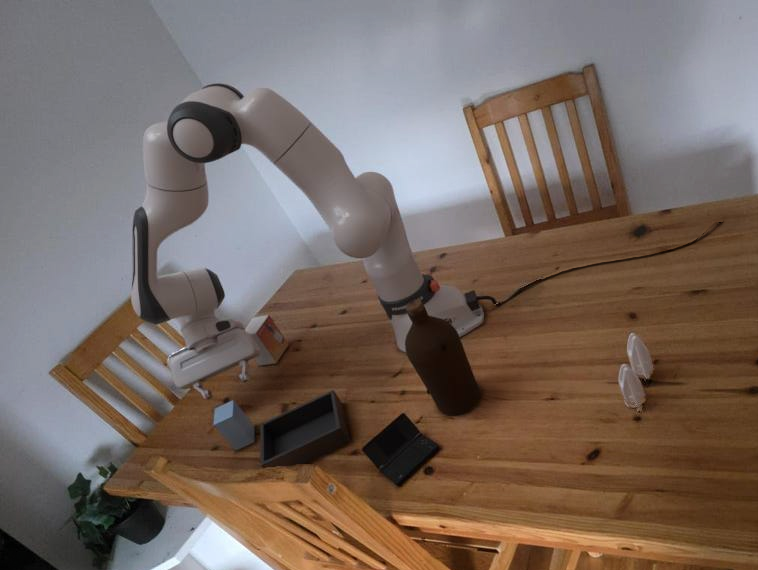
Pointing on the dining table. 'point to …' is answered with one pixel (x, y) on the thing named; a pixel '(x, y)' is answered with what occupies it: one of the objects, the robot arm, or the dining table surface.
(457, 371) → the olive oil
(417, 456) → the handheld gaming console
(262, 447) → the tote
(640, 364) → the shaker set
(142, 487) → the dining table surface
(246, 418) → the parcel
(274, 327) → the small box
